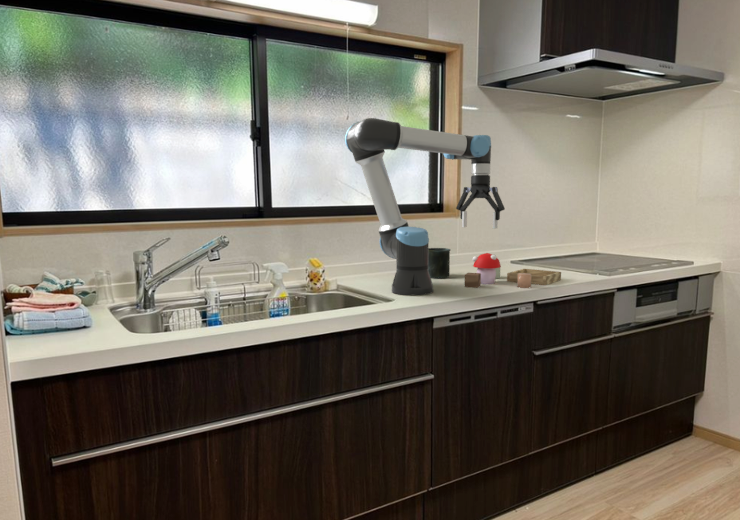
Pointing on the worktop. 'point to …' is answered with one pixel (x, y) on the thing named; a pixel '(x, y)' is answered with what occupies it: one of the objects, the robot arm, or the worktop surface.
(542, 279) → the bamboo tray
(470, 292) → the worktop surface
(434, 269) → the mug
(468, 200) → the robot arm
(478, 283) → the walnut block
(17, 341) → the worktop surface
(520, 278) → the peach rounded block
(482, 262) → the mushroom
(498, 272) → the sage block
